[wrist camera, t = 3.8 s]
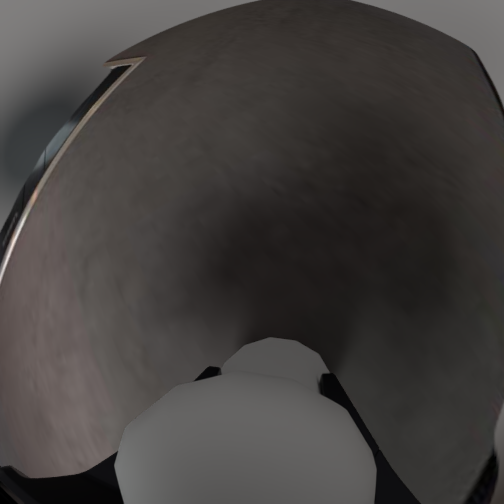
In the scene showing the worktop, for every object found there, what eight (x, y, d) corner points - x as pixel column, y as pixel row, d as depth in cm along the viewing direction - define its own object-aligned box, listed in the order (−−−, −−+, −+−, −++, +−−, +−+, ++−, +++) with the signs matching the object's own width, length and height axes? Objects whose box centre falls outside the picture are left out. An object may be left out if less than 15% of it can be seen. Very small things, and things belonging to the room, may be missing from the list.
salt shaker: (309, 325, 15) (391, 251, 3) (338, 413, 13) (448, 550, 1) (214, 355, 15) (25, 360, 3) (242, 441, 13) (143, 595, 1)
